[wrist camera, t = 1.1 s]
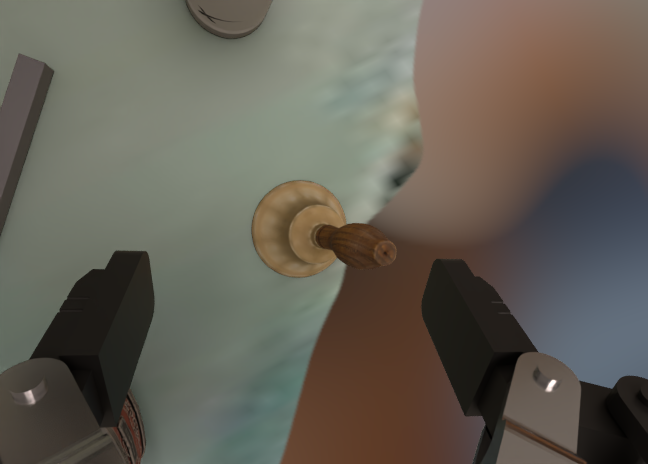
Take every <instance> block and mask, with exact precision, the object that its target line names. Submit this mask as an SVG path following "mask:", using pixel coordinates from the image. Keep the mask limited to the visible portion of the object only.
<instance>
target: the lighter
mask: <svg viewBox="0 0 648 464" xmlns="http://www.w3.org/2000/svg"><path fill="white" fill-rule="evenodd" d="M101 430H102V432H103V433H104V434H106V433H107V434H108V435H109V436H110V438H111V440H112V441H113V443H114V445H115V447H116V448H117V450H118V452H119V454H120V456H121V458H122V459H123V461H124V463H125V464H140V461H141V458H142V457H143V455H144V453H145V446H146V439H145V431H144V424H143V421H142V417H141V413H140V410H139V406H138V404H137V402H136V400H135V398H134V396H133V394H132V391H131V389H130V388H129V390H128V394H127V397H126V400H125V403H124V406H123V409H122V412H121V415H120V418H119V421H118V424H117V427H104V428H101Z"/></svg>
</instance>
